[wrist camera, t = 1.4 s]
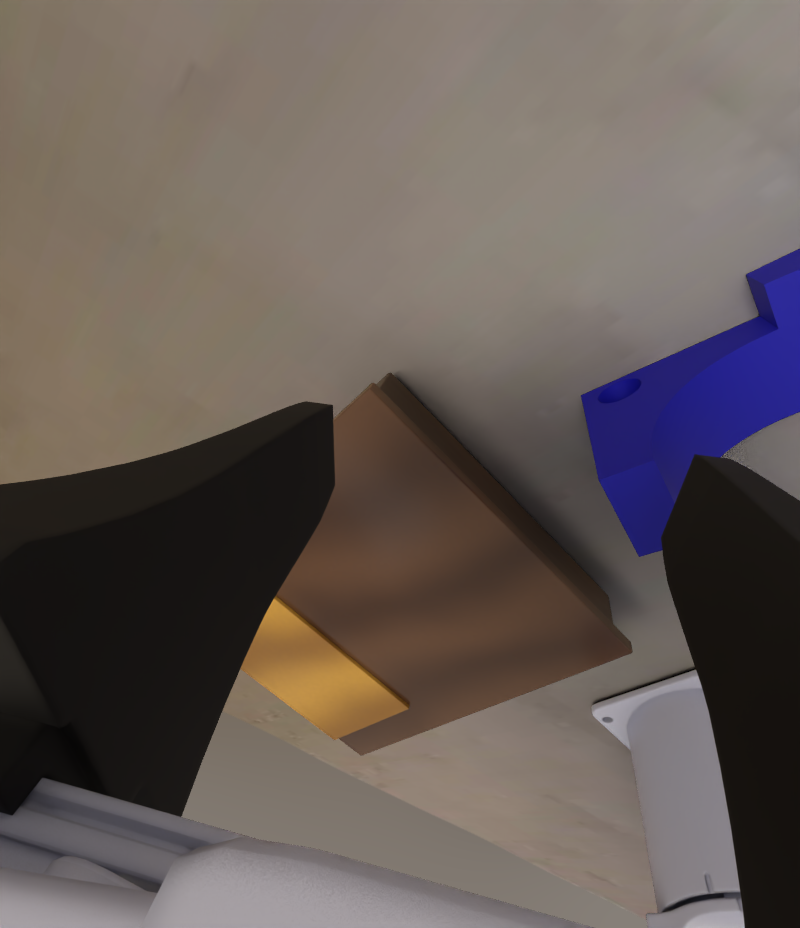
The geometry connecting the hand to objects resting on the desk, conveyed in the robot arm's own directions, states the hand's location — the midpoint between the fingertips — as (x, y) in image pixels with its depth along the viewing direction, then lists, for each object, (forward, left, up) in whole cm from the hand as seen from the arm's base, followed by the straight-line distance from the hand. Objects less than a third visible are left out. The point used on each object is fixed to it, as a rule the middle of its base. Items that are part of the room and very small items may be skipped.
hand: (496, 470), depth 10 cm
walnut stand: (-5, +12, -10) cm, 17 cm away
